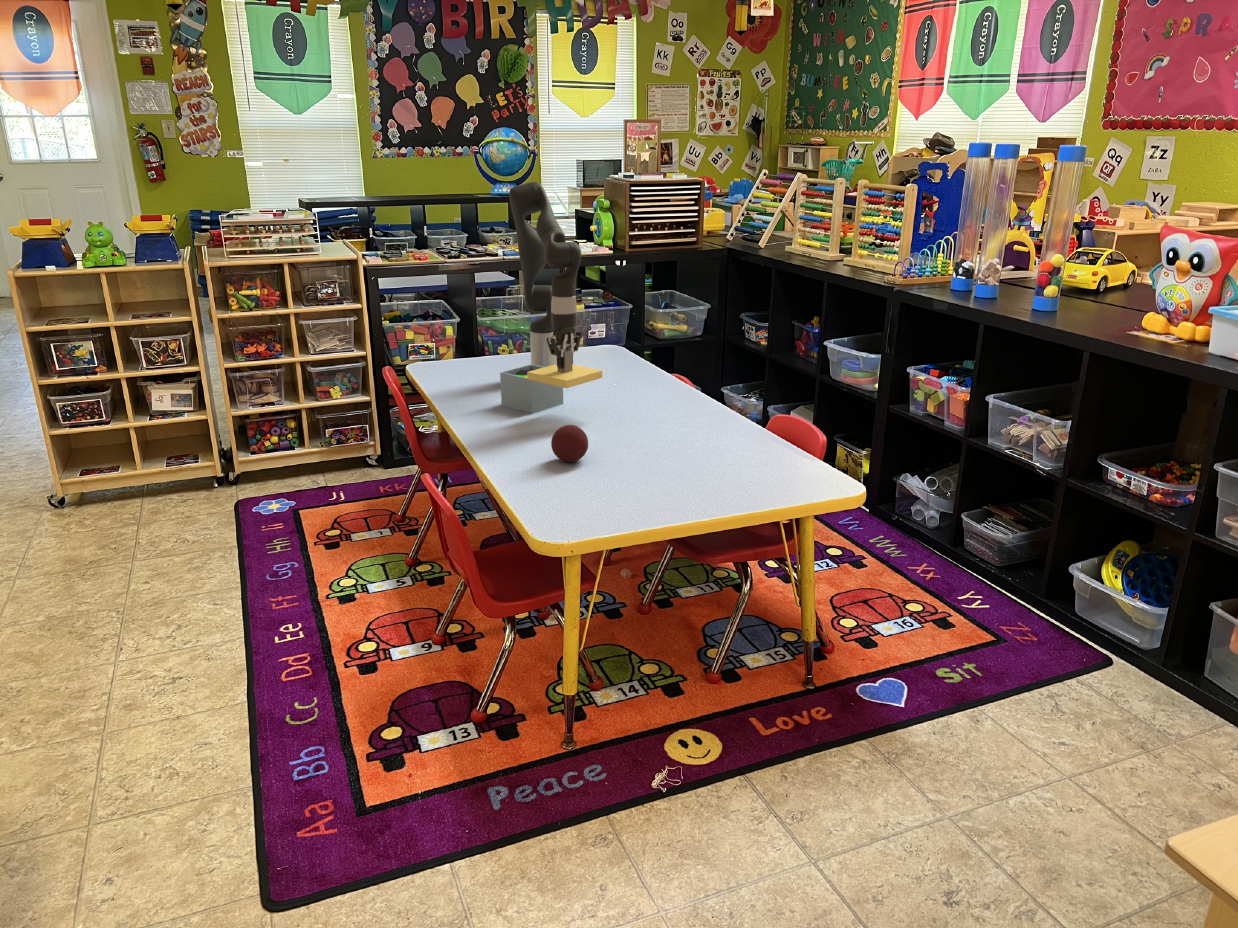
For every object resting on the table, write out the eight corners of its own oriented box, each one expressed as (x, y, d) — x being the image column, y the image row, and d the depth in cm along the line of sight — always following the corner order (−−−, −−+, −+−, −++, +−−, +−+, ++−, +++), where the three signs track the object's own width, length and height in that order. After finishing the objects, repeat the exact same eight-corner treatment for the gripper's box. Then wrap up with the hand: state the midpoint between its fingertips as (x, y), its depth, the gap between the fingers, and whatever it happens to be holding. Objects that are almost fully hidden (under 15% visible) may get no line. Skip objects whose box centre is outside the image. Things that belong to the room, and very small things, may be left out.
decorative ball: (595, 463, 241) (595, 427, 238) (562, 469, 236) (562, 433, 233) (577, 452, 249) (576, 418, 246) (545, 458, 244) (544, 423, 241)
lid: (563, 369, 286) (563, 342, 282) (602, 377, 276) (602, 349, 273) (527, 379, 274) (526, 350, 271) (566, 388, 264) (566, 359, 261)
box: (532, 396, 302) (531, 364, 299) (563, 403, 294) (562, 371, 290) (501, 405, 292) (500, 372, 288) (532, 413, 284) (531, 379, 280)
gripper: (570, 306, 275) (571, 361, 281) (538, 312, 265) (539, 369, 271) (589, 309, 271) (589, 365, 276) (557, 315, 260) (558, 373, 266)
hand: (564, 366), depth 274 cm, fingers closed on lid, 3 cm apart
